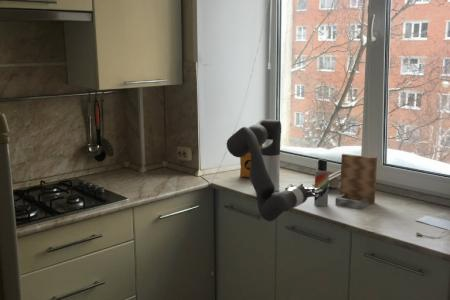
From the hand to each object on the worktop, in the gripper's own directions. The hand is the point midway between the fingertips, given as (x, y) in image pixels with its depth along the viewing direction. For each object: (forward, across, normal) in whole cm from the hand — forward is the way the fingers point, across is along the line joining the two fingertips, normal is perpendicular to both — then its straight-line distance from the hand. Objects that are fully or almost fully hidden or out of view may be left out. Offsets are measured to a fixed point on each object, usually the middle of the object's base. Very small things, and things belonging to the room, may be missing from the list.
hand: (311, 187), depth 214 cm
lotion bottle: (+12, -1, -10) cm, 16 cm away
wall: (+39, -9, -10) cm, 42 cm away
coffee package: (+38, -50, -10) cm, 64 cm away
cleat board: (+21, +10, -10) cm, 26 cm away
